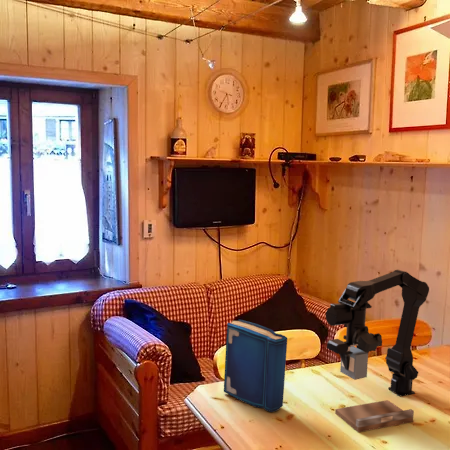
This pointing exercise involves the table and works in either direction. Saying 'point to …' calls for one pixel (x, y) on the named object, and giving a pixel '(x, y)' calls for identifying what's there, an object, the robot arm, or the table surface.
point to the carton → (356, 364)
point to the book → (255, 365)
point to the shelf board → (374, 415)
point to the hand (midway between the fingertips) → (353, 368)
